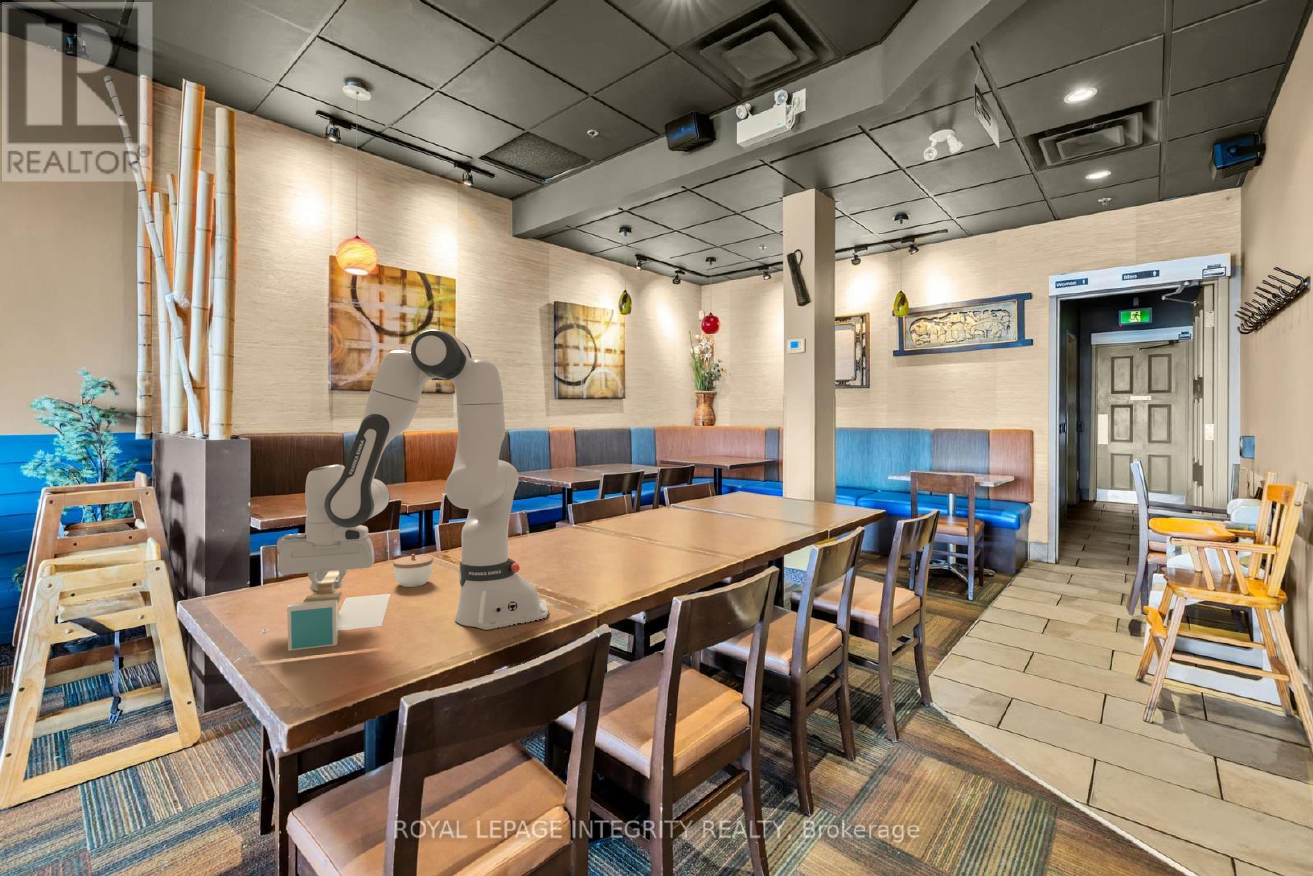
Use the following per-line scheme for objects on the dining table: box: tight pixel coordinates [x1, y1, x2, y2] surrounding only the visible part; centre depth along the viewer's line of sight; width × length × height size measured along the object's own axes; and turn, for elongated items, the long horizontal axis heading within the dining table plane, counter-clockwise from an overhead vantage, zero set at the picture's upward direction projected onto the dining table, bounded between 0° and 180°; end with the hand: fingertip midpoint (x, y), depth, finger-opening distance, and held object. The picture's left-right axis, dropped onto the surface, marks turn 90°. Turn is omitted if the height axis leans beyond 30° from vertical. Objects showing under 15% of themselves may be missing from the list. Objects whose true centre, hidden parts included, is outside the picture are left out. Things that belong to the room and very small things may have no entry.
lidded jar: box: [392, 553, 434, 588], centre depth 169 cm, size 11×11×9 cm
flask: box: [309, 571, 329, 592], centre depth 166 cm, size 7×7×10 cm
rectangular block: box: [286, 600, 339, 652], centre depth 124 cm, size 9×2×10 cm, turn 110°
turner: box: [302, 570, 343, 605], centre depth 139 cm, size 22×7×3 cm, turn 20°
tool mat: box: [338, 593, 391, 632], centre depth 146 cm, size 11×26×1 cm, turn 20°
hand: (328, 588), depth 140 cm, fingers closed on turner, 3 cm apart
